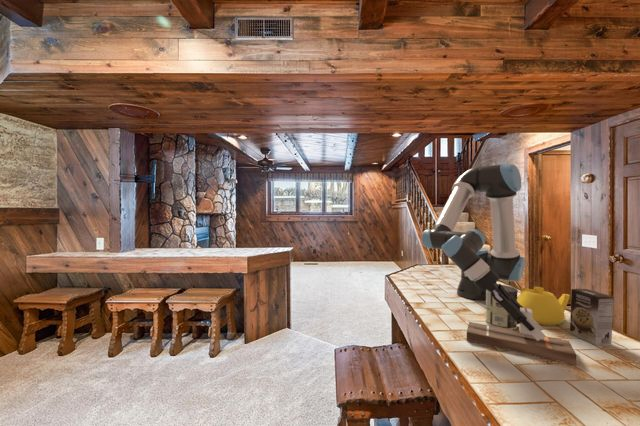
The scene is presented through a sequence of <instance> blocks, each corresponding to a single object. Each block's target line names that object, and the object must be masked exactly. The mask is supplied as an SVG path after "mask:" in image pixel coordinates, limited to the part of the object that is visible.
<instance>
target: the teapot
mask: <svg viewBox="0 0 640 426" xmlns="http://www.w3.org/2000/svg"><path fill="white" fill-rule="evenodd" d="M570 299H571V294H568V293H562V295H561V296H560V297H559V298H557V296H555V294H554V293H552V292H550V291H546V290H545V288H544V287H541V286H533V288H528V287H524V288H523V287H522V289H521V290H520V294H519V295H517V302H518V303H519V304H520V305H522V307H523V308H527V309H531V310H532V318H533V319H534V320H535V321H536V322H537V323H538V324H539V325H540V326H541V325H542V326H551V327H552V326H553V327H554V326H558V325H560V324H562V323H563V322H564V320H565V318H566V317H565V310H566V308H567V305H568V303H569V300H570Z"/></svg>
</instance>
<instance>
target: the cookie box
mask: <svg viewBox="0 0 640 426" xmlns="http://www.w3.org/2000/svg"><path fill="white" fill-rule="evenodd" d="M614 300H615V296H611V295H609V294H605V293H601V292H598V291H595V290H592V289H588V288H572V289H571V291H570V317H569V318H570V319H569V321H570V322H569V334H570V335H572V336H574V337H576V338H579V339H580V340H583V341H585V342H587V343H590V344H592V345H594V346H611V345H612V340H613V339H612V338H613V324H614V322H613V320H614V305H615V304H614V303H615V301H614Z"/></svg>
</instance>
